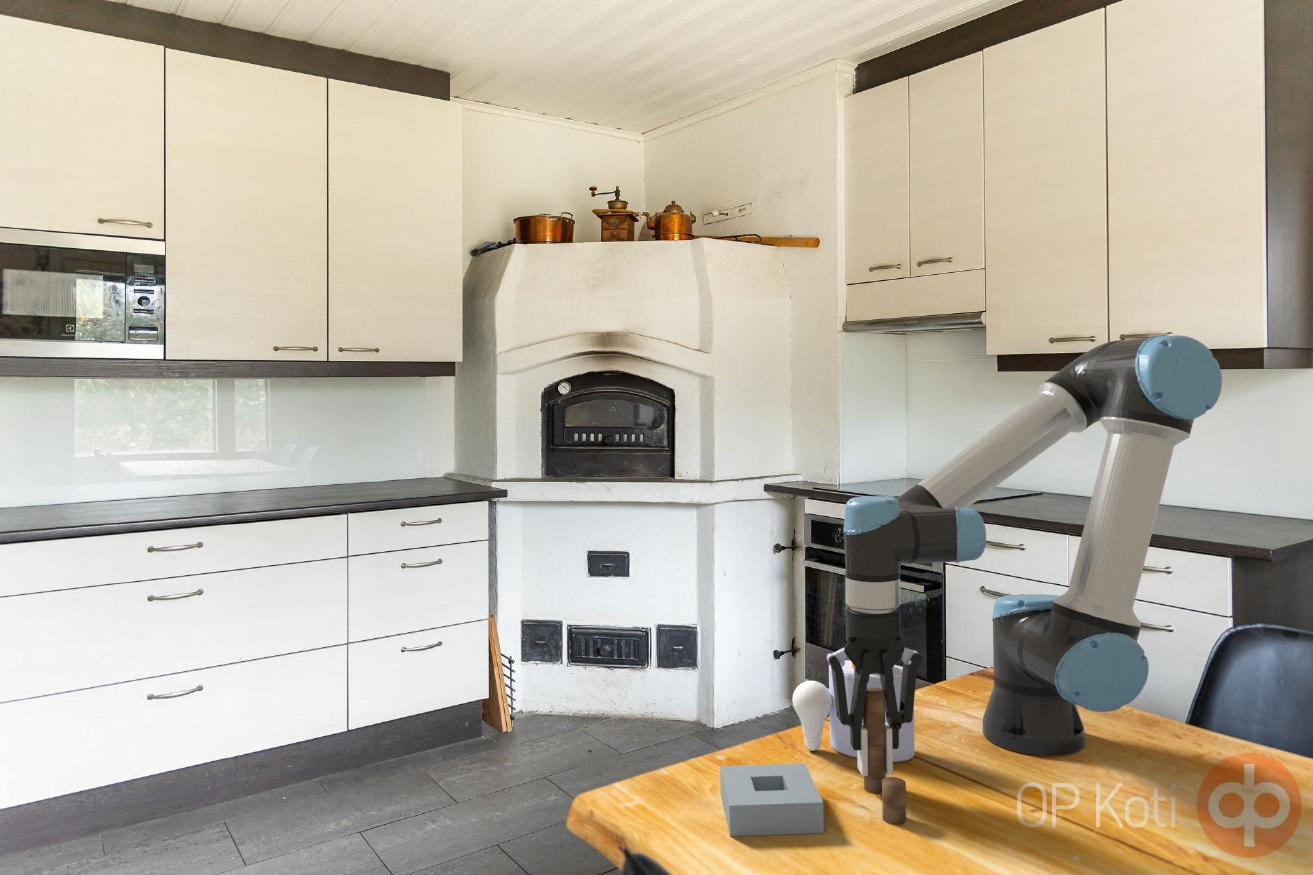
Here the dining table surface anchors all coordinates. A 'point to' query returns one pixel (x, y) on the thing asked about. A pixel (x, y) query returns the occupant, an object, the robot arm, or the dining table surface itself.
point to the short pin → (894, 800)
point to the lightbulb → (812, 711)
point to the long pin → (875, 739)
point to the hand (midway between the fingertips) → (874, 770)
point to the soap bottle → (842, 732)
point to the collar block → (770, 800)
